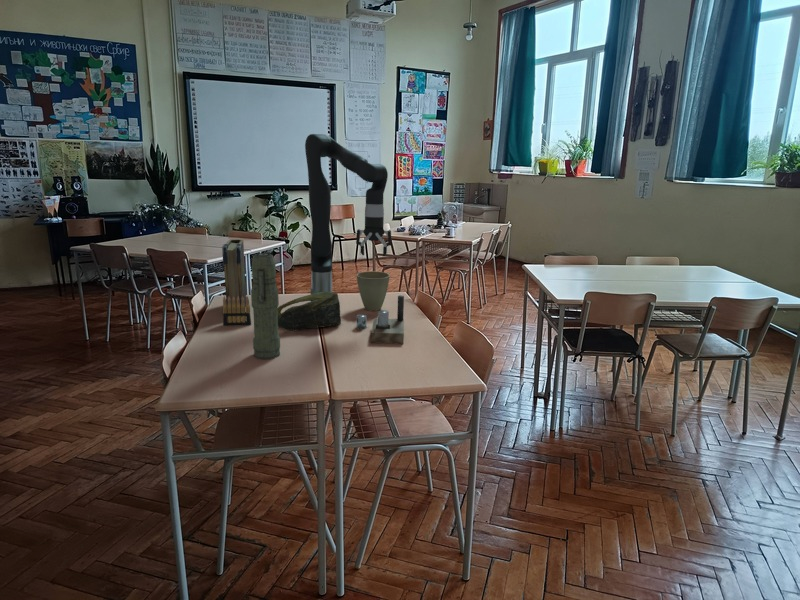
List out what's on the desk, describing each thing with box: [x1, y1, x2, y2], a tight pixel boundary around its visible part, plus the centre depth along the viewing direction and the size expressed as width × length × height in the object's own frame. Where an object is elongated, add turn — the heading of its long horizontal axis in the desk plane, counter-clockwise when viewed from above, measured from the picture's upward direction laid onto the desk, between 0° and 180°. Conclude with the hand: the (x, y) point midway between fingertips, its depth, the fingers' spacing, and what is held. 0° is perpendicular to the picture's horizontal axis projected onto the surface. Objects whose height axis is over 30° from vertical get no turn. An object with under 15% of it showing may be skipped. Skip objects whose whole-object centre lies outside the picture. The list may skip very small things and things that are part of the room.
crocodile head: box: [277, 291, 342, 331], centre depth 212 cm, size 27×17×15 cm
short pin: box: [356, 314, 368, 330], centre depth 212 cm, size 4×4×5 cm
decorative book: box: [221, 239, 247, 312], centre depth 229 cm, size 23×7×30 cm, turn 12°
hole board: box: [370, 294, 405, 345], centre depth 203 cm, size 12×18×14 cm, turn 0°
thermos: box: [250, 252, 281, 360], centre depth 177 cm, size 9×12×35 cm
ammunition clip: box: [222, 295, 252, 327], centre depth 210 cm, size 11×2×12 cm, turn 99°
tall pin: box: [377, 309, 390, 329], centre depth 202 cm, size 4×4×10 cm
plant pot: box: [356, 270, 391, 311], centre depth 238 cm, size 15×15×16 cm
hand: (373, 255), depth 214 cm, fingers open, 8 cm apart
